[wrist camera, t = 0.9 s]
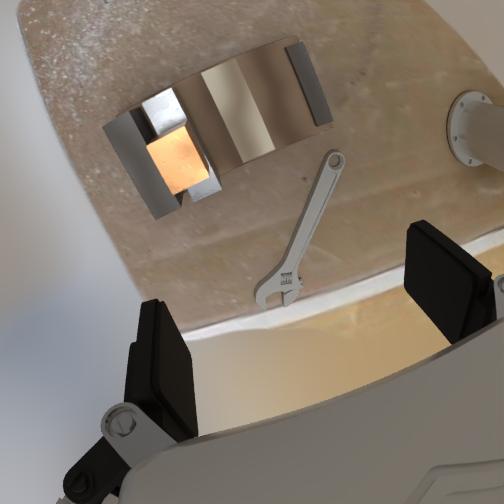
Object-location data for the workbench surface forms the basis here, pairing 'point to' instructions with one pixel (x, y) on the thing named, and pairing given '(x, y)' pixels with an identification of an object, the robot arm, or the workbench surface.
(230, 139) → the bench vise
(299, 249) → the adjustable wrench
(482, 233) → the workbench surface
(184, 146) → the sliding jaw
